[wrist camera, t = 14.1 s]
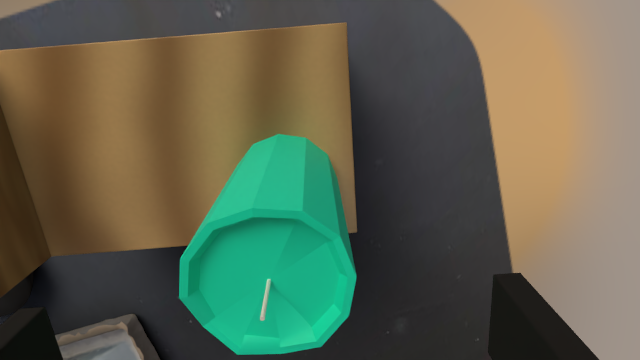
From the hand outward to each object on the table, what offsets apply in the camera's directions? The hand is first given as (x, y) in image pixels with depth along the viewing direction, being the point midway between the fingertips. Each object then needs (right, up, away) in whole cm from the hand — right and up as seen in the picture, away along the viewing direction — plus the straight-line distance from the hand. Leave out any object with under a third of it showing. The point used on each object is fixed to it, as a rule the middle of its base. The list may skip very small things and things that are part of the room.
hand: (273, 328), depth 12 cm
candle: (-1, +4, +12) cm, 12 cm away
